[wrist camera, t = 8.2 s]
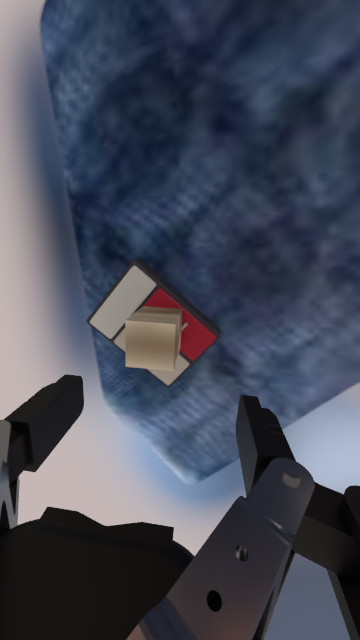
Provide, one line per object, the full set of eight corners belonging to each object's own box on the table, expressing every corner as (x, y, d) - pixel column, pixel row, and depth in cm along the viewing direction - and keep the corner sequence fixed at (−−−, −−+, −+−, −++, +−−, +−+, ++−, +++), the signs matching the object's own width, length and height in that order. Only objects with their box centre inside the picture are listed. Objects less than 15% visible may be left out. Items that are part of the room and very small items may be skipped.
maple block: (143, 306, 30) (125, 320, 23) (182, 309, 29) (175, 324, 23) (142, 343, 31) (125, 366, 24) (180, 346, 31) (173, 371, 24)
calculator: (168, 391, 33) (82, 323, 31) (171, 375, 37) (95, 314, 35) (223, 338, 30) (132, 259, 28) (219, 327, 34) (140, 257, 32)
